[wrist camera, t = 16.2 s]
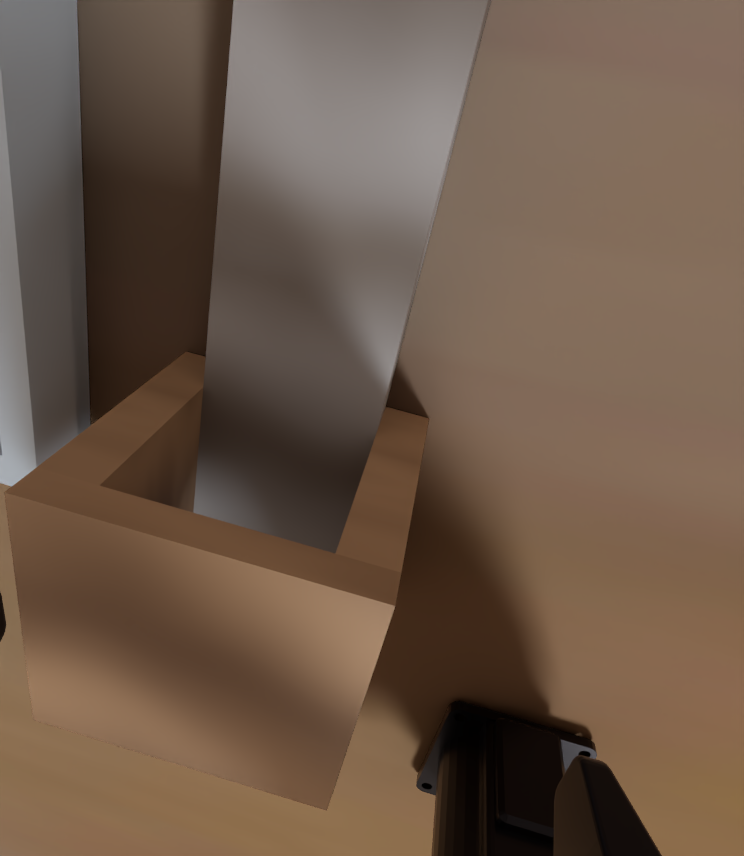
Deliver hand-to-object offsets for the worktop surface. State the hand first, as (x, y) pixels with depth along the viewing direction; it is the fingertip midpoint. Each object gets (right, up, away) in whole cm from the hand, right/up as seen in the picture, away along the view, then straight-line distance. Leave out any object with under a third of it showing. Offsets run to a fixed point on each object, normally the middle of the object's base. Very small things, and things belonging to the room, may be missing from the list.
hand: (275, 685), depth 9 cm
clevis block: (0, +9, +8) cm, 12 cm away
